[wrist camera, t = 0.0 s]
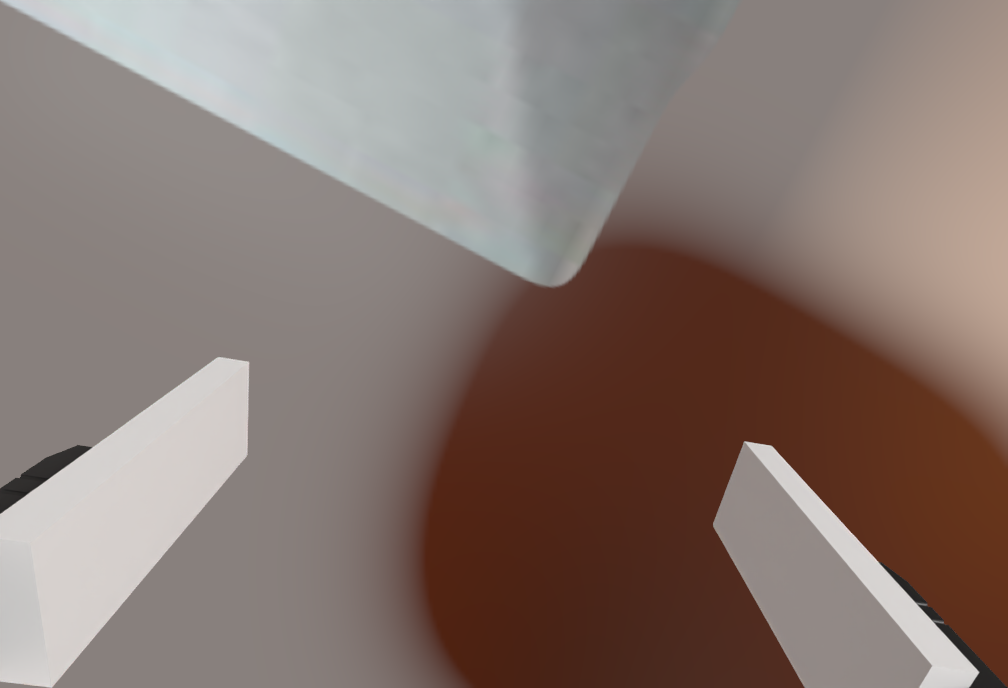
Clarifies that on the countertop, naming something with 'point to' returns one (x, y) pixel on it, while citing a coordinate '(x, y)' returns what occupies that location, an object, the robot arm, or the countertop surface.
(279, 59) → the countertop surface
